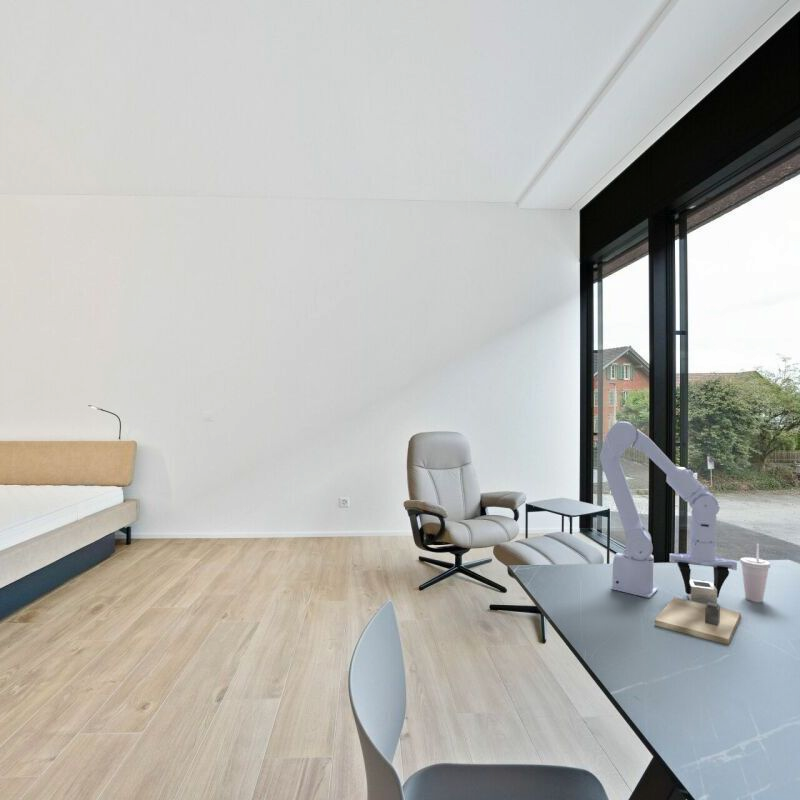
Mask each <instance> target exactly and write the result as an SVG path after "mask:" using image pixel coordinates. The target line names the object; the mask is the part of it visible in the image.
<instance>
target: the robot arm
mask: <svg viewBox="0 0 800 800" xmlns="http://www.w3.org/2000/svg"><path fill="white" fill-rule="evenodd" d="M630 446H631V449H633V450H636V451H640V452H643V453H644V454H645V455H646V456H647V457H648V458H649V459H650V460H651V461H652V462H653V463H654V464H655V465H656V466H657V467H658V468H659V469H660V470H662V472H664V474H666V478H665V479H666V480H665V482H666V483H667V484H668V486H669V487H671V489H673V490H674V491H675V492H676V494H677V495H679V497H681V499H682V500H683V501H684V502H687V503H688V504H689V506H690V508H691V516H690V517H691V519H690V522H689V524H690V528H689V553H669V562H670V564H676V565H677V567H678V569H679V572H680V573H681V574H680V575H681V576H682V580H683V584H684V591H685V594H686V595H687V594H690V580H691V571H692V569H691V567H690V565H693V566H702V567H713V584H714V586H715V587H716V589H717V599H719V596H720V593H721V592H720V591H721V589H722V587H723V585H724V584H725V581H726V580H727V578H728V577H729V576H730V571H729V569H730V570H733V571H737V570H738V562H737V561H736V559H735V560H734V559H730V558H729V559H728V558H722V557H718V556H717V528H718V527H717V519H718V518H717V514H718V513H719V511H720V505H719V502H718V500H717V498H715V496H714V495H713V494H712V492H711V491H709V488H708V486H706V485H703V484H702V483H701V482H700V481H699V480H698V479H697V478H696V477H695V476H694V474H695V472H693V471H692V470H691V469H687V468H686V467H684V466H676V465H675V463H673V462H672V460H671V459H670V458H669V457H668V456H667V455H666V454H665V453H664V452H663V451H662V449H660V448H659V447H658V446H657V444H656V443H655V442H654V441H653V440H652V439H651V438H650V437H649V436H647V435H646V434H645V433H644V432H642V431H641V430H640V429H639V428H637V429H636V428H635V426H634V425H633V424H632V423H631V422H629V421H627V420H620V421H617V422H615V423H614V424H613V425H612V426H611V428H610V429H609V430H608V431H607V434H606V435H605V438H604V441H603V445H602V447H601V451H600V455H599V461H600V463H601V466H602V468H603V472H604V475H605V478H606V480H607V483H608V487H609V489H610V492H611V495H612V498H613V501H614V504H615V506H616V509H617V512H618V515H619V517H620V520H621V524H622V528H623V532H624V535H625V550H624V551H623V553H622V552H616V553H615V555H614V557H613V560H612V575H611V576H612V582H611V583H612V584H611V585H612V586H611V590H615V591H619V592H623V593H626V594H631V595H635V596H640V597H643V598H647V599H650V598H652V597H653V595H654V594H655V593H656V592H657V591H658V590H659V589H658V587H655V586H654V566H655V565H654V564H655V563H654V561H655V559H654V555H653V554H652V553H653V549H654V547H653V543H652V536H651V533H650V532H649V531H648V530H647V529H646V528H645V527H644V524H643V522H642V519H641V518H640V515H639V512H638V509H637V506H636V503H635V501H634V498H633V494H632V492H631V489H630V486H629V483H628V480H627V479H626V475H625V471H624V470H623V469H624V468H623V466H622V464H621V461H620V459H621V458H622V455H624V452H625V451H626V449H628V448H629V447H630Z"/></svg>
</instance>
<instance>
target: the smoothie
mask: <svg viewBox="0 0 800 800" xmlns="http://www.w3.org/2000/svg"><path fill="white" fill-rule="evenodd" d="M755 554H756V555H755V556H756V557H741V558H740V559H739V563H740V564H741V570H742V572H741V573H742V580H743V589H744V596H745V597H744V598H745V599H746V600H748V601H750V602H754V603H762V602H764V599H765V591H766V586H767V578H768V574H769V569H771V563H770V562H769V561H767V560H765V559H762V558H760V543H756V553H755Z"/></svg>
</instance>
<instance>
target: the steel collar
mask: <svg viewBox="0 0 800 800" xmlns="http://www.w3.org/2000/svg"><path fill="white" fill-rule="evenodd" d="M686 596H687V598H688V600H689V601H693V602H697V603H702V604H706V605H707V604H708V603H709V602H710V603H715V604H718V598H717V589H716V587H715V586H714V582H713V581H705V580H697V579H690V594H686Z"/></svg>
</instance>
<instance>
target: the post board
mask: <svg viewBox="0 0 800 800" xmlns="http://www.w3.org/2000/svg"><path fill="white" fill-rule="evenodd" d="M741 616H742V612H740V611H736V610H731V609H727V608H723V607H721V606H720V605H719V604H718V603H717V604H715V603H710V602H709V603H708V604H707V605H706V604H702V603H697V602H693V601H690V600H689V599H684V598H679V597H675V596H674V597H673V598H672V599H671V600H670V601H669V602H668V603H667V605H665V607H664V608H663V609H662V610H661V611H660V613H658V615H657V616H656V618H655V619H654V626H656V627H660V628H663V629H666V630H667V629H668V630H671V631H676V632H679V633H682V634H686V635H690V636H694V637H698V638H702V639H705V640H709V641H713V642H716V643H719V644H722V645H723V644H724V645H727V646H728V645H729V644H730V642H731V640H732V638H733V635H734V633H735V632H736V629H737V626H738V624H739V622H740V621H741Z"/></svg>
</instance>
